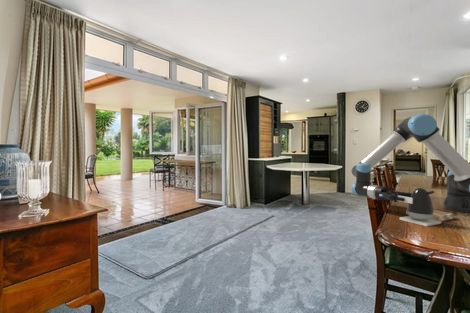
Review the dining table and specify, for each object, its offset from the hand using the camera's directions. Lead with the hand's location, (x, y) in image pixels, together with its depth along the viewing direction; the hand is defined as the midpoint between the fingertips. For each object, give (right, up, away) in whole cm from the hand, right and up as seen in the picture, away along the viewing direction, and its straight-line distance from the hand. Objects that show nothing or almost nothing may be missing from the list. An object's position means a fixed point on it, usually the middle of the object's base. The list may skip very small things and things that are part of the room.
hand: (420, 199), depth 119 cm
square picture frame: (+12, -11, +10) cm, 19 cm away
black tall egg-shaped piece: (0, -10, +1) cm, 10 cm away
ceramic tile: (0, -11, +1) cm, 11 cm away
